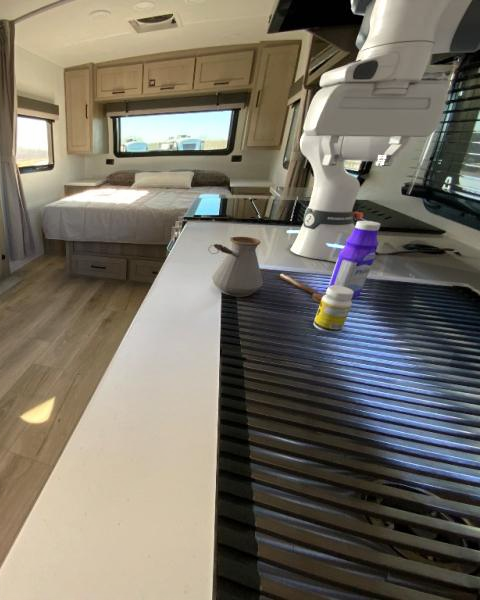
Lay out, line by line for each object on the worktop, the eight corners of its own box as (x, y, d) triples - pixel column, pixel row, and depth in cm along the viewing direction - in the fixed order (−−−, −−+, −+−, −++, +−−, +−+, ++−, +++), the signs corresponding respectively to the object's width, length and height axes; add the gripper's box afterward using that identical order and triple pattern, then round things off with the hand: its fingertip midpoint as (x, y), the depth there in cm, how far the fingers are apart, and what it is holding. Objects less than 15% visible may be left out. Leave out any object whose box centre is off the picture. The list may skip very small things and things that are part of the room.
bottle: (345, 302, 76) (374, 227, 68) (320, 292, 81) (345, 221, 73) (364, 296, 78) (394, 223, 71) (339, 287, 83) (365, 218, 75)
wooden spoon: (272, 277, 90) (273, 273, 89) (287, 276, 90) (288, 272, 90) (322, 305, 75) (323, 300, 74) (339, 303, 75) (341, 299, 75)
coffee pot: (223, 277, 90) (234, 222, 83) (267, 290, 82) (283, 230, 75) (179, 302, 77) (188, 239, 70) (227, 319, 69) (242, 251, 63)
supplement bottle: (317, 319, 69) (330, 282, 65) (344, 328, 66) (360, 289, 62) (309, 327, 66) (322, 288, 62) (336, 336, 63) (352, 297, 59)
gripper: (434, 76, 55) (399, 165, 61) (311, 75, 55) (288, 164, 61) (475, 68, 49) (432, 167, 55) (337, 66, 50) (309, 166, 55)
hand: (355, 165), depth 58 cm, fingers open, 8 cm apart
